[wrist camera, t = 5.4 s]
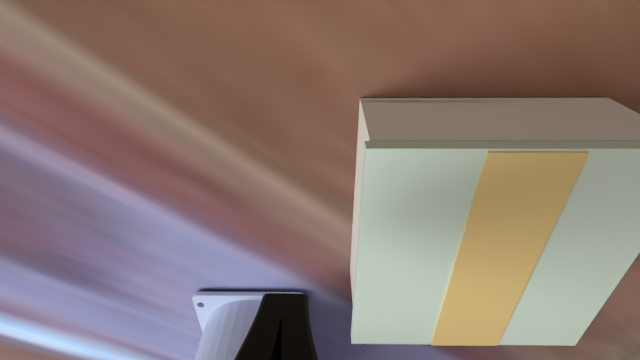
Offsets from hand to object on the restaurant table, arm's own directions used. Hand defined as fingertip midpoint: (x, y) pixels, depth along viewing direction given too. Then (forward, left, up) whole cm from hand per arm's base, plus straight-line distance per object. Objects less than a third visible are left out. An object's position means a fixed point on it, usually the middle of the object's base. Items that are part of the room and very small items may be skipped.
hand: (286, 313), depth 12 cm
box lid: (-2, -9, -5) cm, 10 cm away
